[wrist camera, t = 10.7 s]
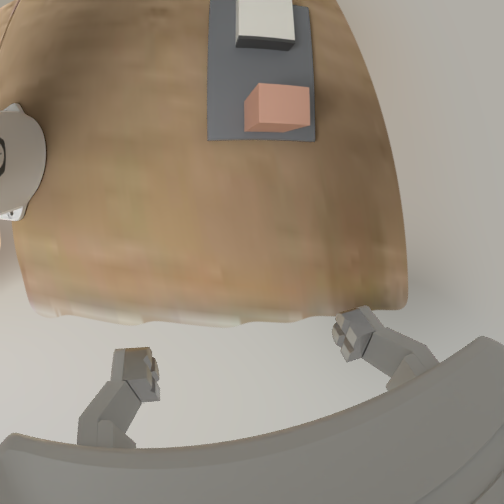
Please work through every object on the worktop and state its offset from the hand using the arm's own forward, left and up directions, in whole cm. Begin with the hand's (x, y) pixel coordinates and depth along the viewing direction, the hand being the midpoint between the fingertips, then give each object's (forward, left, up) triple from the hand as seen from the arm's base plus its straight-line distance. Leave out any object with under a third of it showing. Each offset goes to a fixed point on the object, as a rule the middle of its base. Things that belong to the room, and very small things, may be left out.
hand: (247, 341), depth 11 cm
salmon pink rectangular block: (+6, +13, -25) cm, 29 cm away
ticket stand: (+6, +21, -27) cm, 34 cm away
